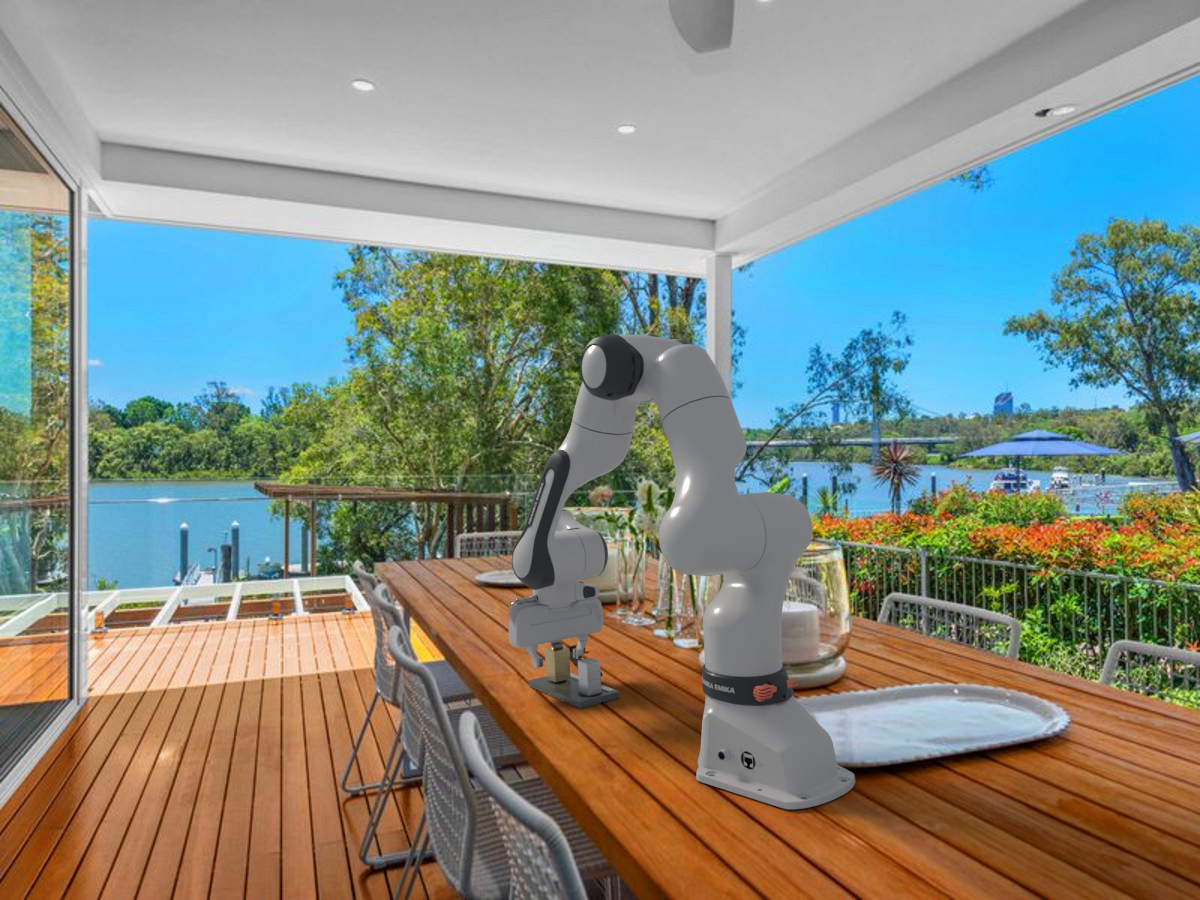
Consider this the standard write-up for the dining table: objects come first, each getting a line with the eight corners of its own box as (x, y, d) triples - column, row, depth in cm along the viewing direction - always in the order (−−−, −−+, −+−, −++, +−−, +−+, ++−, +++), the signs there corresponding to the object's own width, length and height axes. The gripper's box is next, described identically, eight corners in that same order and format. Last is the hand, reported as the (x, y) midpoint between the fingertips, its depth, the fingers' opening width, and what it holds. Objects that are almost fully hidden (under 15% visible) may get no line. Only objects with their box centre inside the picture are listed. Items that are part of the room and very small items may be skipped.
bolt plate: (619, 697, 147) (617, 659, 147) (579, 708, 142) (577, 668, 142) (566, 677, 162) (565, 642, 162) (528, 686, 156) (527, 650, 156)
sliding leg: (570, 678, 155) (569, 642, 155) (555, 682, 153) (553, 645, 153) (561, 674, 158) (559, 639, 158) (546, 678, 156) (544, 642, 156)
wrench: (585, 659, 183) (617, 686, 154) (564, 662, 182) (591, 690, 153) (582, 636, 183) (614, 659, 154) (561, 640, 182) (588, 663, 153)
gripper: (516, 601, 147) (520, 676, 147) (606, 586, 159) (609, 655, 159) (500, 597, 152) (504, 669, 152) (588, 583, 164) (591, 650, 164)
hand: (558, 662), depth 155 cm, fingers open, 8 cm apart
